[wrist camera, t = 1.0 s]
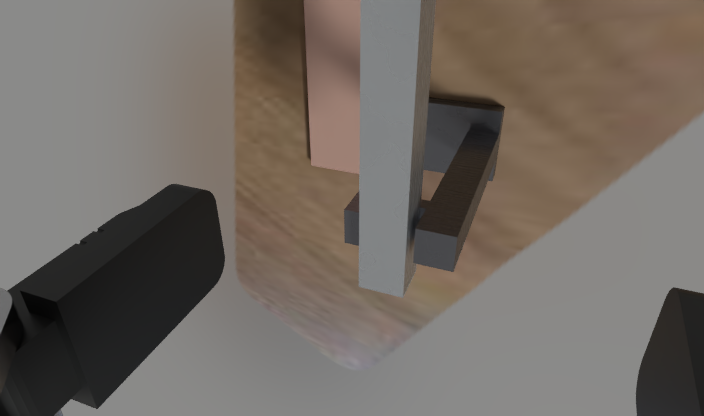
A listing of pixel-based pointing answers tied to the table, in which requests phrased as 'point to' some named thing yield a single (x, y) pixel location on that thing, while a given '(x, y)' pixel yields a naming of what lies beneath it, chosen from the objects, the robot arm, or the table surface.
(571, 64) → the table surface
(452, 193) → the hook standards
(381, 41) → the steel rail
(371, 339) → the table surface
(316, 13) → the felt mat
